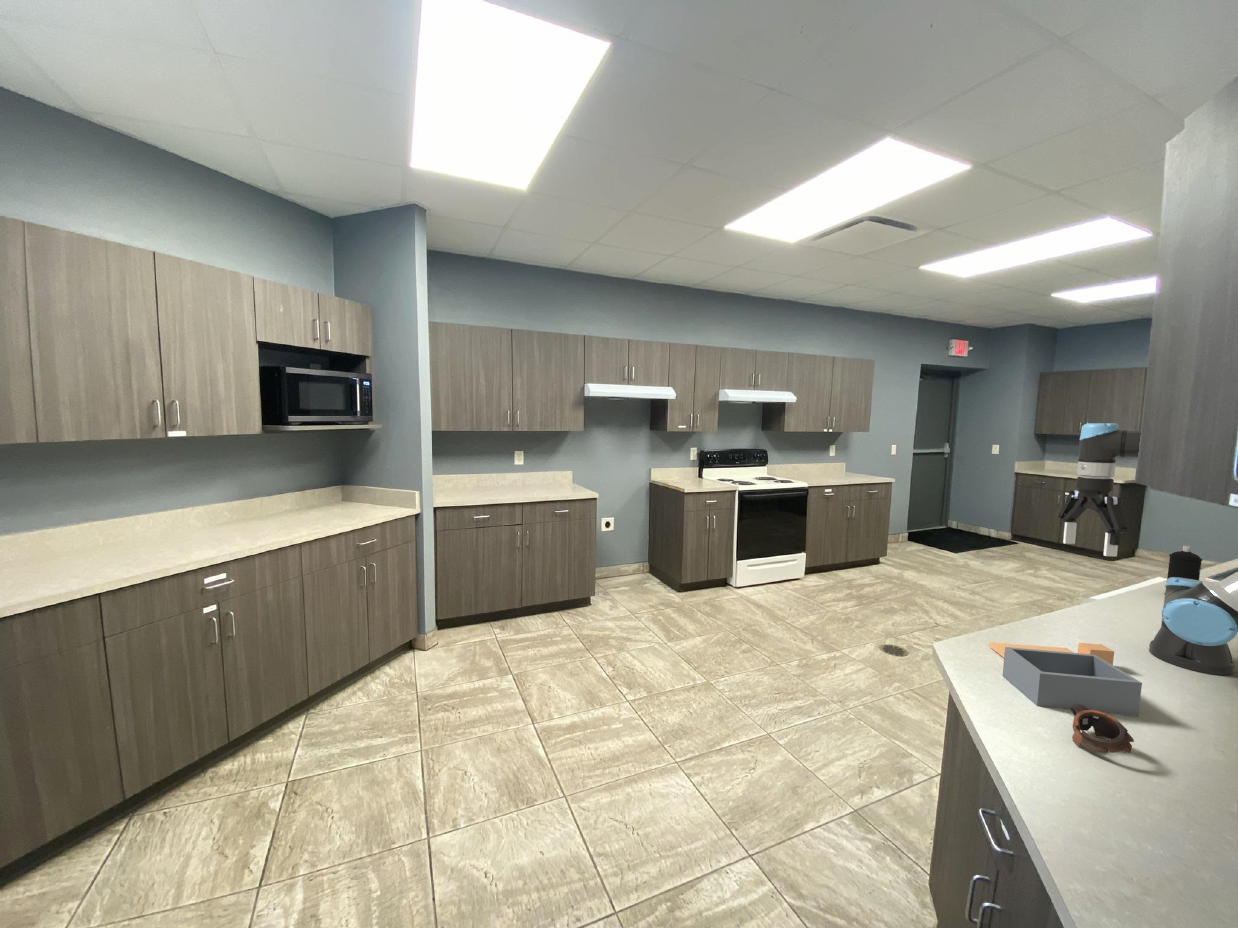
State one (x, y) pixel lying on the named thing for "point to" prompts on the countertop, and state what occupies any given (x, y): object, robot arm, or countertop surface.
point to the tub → (1071, 681)
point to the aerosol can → (1184, 564)
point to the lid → (1062, 649)
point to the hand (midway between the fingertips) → (1088, 549)
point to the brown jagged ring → (1099, 731)
